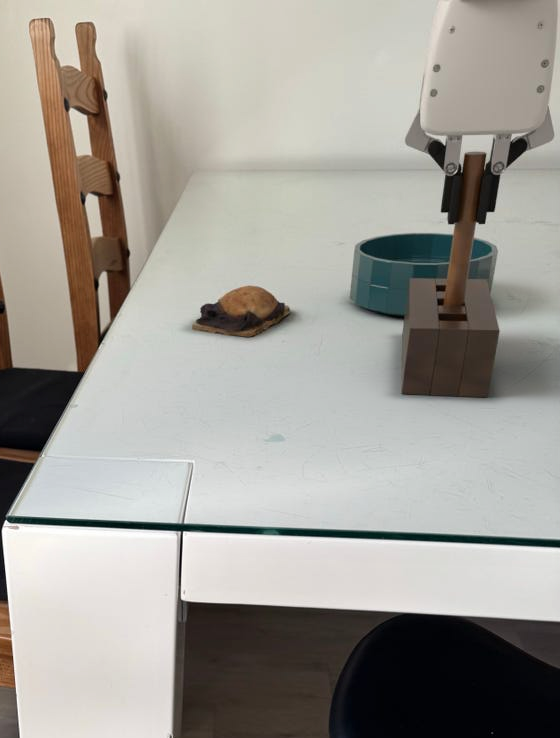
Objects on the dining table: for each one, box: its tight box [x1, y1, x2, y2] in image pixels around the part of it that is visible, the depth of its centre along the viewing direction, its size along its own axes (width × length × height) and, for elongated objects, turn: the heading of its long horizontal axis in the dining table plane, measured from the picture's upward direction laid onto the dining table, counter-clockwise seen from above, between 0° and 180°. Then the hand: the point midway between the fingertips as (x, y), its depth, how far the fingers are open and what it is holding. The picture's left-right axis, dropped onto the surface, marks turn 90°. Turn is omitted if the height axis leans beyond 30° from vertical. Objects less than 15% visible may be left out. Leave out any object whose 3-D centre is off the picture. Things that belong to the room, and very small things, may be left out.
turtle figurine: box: [191, 285, 291, 338], centre depth 111 cm, size 11×8×4 cm
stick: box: [443, 151, 487, 306], centre depth 92 cm, size 2×2×18 cm
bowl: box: [349, 232, 499, 318], centre depth 113 cm, size 15×15×6 cm
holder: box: [400, 278, 501, 398], centre depth 95 cm, size 7×17×6 cm, turn 165°
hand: (465, 219), depth 90 cm, fingers closed on stick, 1 cm apart
